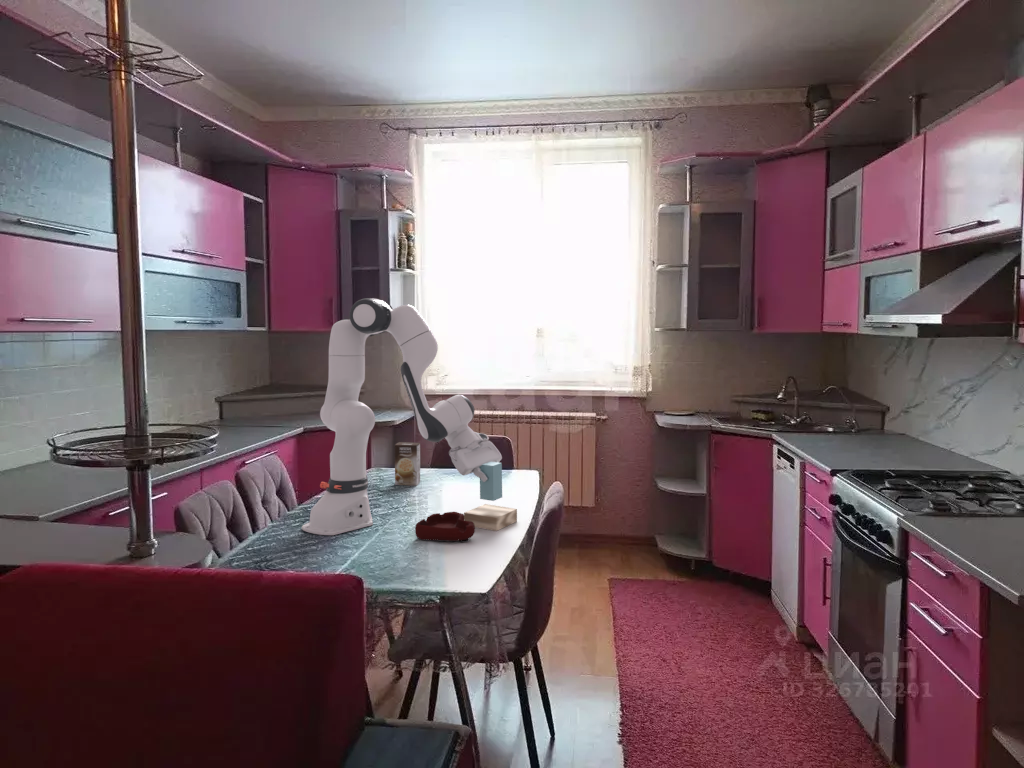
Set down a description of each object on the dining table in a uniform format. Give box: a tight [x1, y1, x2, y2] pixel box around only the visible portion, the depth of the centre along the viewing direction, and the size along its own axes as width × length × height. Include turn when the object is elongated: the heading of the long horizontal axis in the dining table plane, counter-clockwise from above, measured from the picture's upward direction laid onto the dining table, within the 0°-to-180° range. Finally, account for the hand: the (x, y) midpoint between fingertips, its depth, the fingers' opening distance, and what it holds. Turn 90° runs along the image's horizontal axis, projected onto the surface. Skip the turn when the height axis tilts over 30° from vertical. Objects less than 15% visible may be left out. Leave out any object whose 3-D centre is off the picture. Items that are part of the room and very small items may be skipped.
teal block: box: [479, 462, 503, 502], centre depth 215 cm, size 5×5×11 cm
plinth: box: [463, 503, 518, 532], centre depth 216 cm, size 12×12×4 cm
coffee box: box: [394, 441, 421, 487], centre depth 271 cm, size 9×6×16 cm
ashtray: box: [414, 511, 476, 543], centre depth 203 cm, size 18×16×5 cm
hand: (492, 478), depth 215 cm, fingers closed on teal block, 5 cm apart
